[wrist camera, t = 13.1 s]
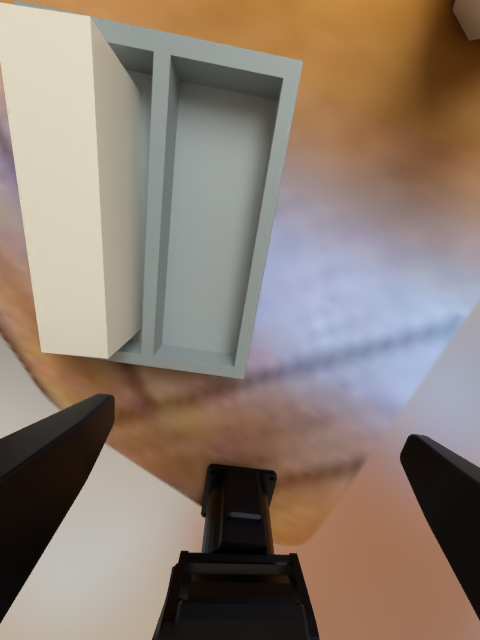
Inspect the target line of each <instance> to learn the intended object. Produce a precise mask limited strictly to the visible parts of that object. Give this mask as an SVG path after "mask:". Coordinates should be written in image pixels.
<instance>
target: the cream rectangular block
mask: <svg viewBox="0 0 480 640" xmlns="http://www.w3.org/2000/svg"><path fill="white" fill-rule="evenodd" d="M0 62H1V69H2V77H3V84H4V91H5V98H6V105H7V112H8V119H9V126H10V133H11V140H12V147H13V154H14V161H15V168H16V176H17V183H18V190H19V197H20V204H21V211H22V218H23V225H24V232H25V239H26V246H27V253H28V260H29V268H30V275H31V282H32V289H33V296H34V303H35V310H36V317H37V324H38V331H39V338H40V345H41V352H44V353H54V354H64V355H74V356H85V357H95V358H105V359H109V358H110V357H111V356H112V355H113V354H114V353H115V352H116V351H117V350H119V349H120V348H121V347H122V346H123V345H124V344H125V343H126V342H127V341H128V340H130V339H131V338H132V337H133V336H134V335H135V334H136V333H137V332H138V331H139V330H141V329H142V168H141V93H140V91H139V90H138V88H137V87H136V85H135V83H134V82H133V80H132V79H131V77H130V76H129V74H128V73H127V71H126V70H125V68H124V67H123V65H122V64H121V62H120V61H119V59H118V58H117V56H116V55H115V53H114V52H113V50H112V49H111V47H110V46H109V44H108V43H107V41H106V39H105V38H104V36H103V35H102V33H101V32H100V30H99V29H98V27H97V26H96V24H95V23H94V21H93V20H92V18H91V17H90V16H84V15H78V14H71V13H65V12H58V11H52V10H45V9H39V8H32V7H26V6H19V5H13V4H6V3H0Z"/></svg>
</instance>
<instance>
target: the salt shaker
mask: <svg viewBox="0 0 480 640" xmlns="http://www.w3.org/2000/svg"><path fill="white" fill-rule="evenodd" d="M452 11H453V13H454V14H455V16H456V18H457V20H458V22H459V23H460V25H461V27H462V29H463V31H464V33H465V34H466V36H467V38H468V40H469V41H470V40H477V39H480V0H455V3H454V6H453V10H452Z"/></svg>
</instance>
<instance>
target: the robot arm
mask: <svg viewBox="0 0 480 640" xmlns="http://www.w3.org/2000/svg"><path fill="white" fill-rule="evenodd" d="M114 418H115V399H114V396H113V395H109V394H101V393H99V394H96V395H94V396H92V397H90V398H87V399H85V400H83V401H81V402H79V403H77V404H75V405H72V406H70V407H68V408H66V409H64V410H62V411H59V412H57V413H55V414H53V415H51V416H49V417H47V418H45V419H42V420H40V421H38V422H36V423H34V424H32V425H29V426H27V427H25V428H23V429H21V430H19V431H16V432H14V433H12V434H10V435H8V436H6V437H3V438H2V439H0V623H1V622H2V620H3V618H4V616H5V615H6V613H7V612H8V610H9V608H10V607H11V605H12V603H13V602H14V600H15V598H16V596H17V595H18V593H19V592H20V590H21V588H22V587H23V585H24V583H25V582H26V580H27V579H28V577H29V575H30V574H31V572H32V570H33V569H34V567H35V565H36V564H37V562H38V560H39V559H40V557H41V555H42V554H43V552H44V550H45V549H46V547H47V545H48V544H49V542H50V540H51V539H52V537H53V535H54V534H55V532H56V531H57V529H58V527H59V525H60V524H61V522H62V521H63V519H64V517H65V516H66V514H67V512H68V511H69V509H70V507H71V506H72V504H73V502H74V500H75V499H76V497H77V496H78V494H79V493H80V491H81V489H82V487H83V486H84V484H85V482H86V480H87V478H88V476H89V474H90V472H91V470H92V468H93V466H94V464H95V462H96V460H97V458H98V456H99V454H100V452H101V449H102V448H103V445H104V443H105V441H106V439H107V437H108V435H109V433H110V431H111V429H112V427H113V424H114ZM400 461H401V464H402V466H403V468H404V471H405V473H406V475H407V477H408V480H409V482H410V484H411V487H412V489H413V491H414V494H415V496H416V498H417V500H418V503H419V505H420V507H421V509H422V511H423V513H424V516H425V518H426V520H427V522H428V524H429V526H430V528H431V530H432V532H433V533H434V535H435V537H436V539H437V541H438V543H439V545H440V547H441V549H442V550H443V552H444V554H445V556H446V558H447V560H448V562H449V563H450V565H451V567H452V569H453V571H454V573H455V575H456V577H457V579H458V581H459V582H460V584H461V586H462V588H463V590H464V592H465V594H466V595H467V598H468V599H469V601H470V603H471V605H472V607H473V609H474V610H475V613H476V614H477V616H478V618H479V620H480V468H479V467H478V466H476V465H474V464H472V463H471V462H469V461H467V460H466V459H464V458H462V457H461V456H459V455H457V454H456V453H454V452H452V451H451V450H449V449H447V448H446V447H444V446H442V445H441V444H439V443H437V442H435V441H434V440H432V439H430V438H429V437H427V436H424V435H417V434H411V435H410V436H408V438H407V440H406V443H405V445H404V447H403V449H402V452H401V454H400ZM276 480H277V476H276V473H275V472H274V471H269V470H260V469H252V468H243V467H235V466H226V465H218V464H211V465H209V467H208V472H207V478H206V485H205V491H204V498H203V504H202V511H201V515H202V517H205V518H206V519H205V527H204V536H203V544H202V553H188V551H181V553H180V557H179V562H178V564H176V565H175V566H174V567H173V568H172V573H171V577H170V582H169V588H168V592H167V596H166V600H165V603H164V606H163V609H162V612H161V615H160V617H159V620H158V624H157V627H156V629H155V632H154V635H153V638H152V640H320V639H319V634H318V629H317V625H316V621H315V616H314V613H313V609H312V605H311V602H310V598H309V595H308V591H307V588H306V584H305V581H304V577H303V574H302V570H301V566H300V563H299V559H298V556H297V554H296V553H290V554H289V555H276V554H274V549H273V548H274V547H273V539H272V530H271V521H270V513H269V506H270V503H271V499H272V495H273V492H274V488H275V484H276Z"/></svg>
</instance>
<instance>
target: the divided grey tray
mask: <svg viewBox="0 0 480 640" xmlns="http://www.w3.org/2000/svg"><path fill="white" fill-rule="evenodd" d="M14 4H15V5H19V6H26V7H32V8H39V9H45V10H52V11H58V12H65V13H71V14H78V13H73V12H68V11H63V10H59V9H54V8H49V7H44V6H40V5H35V4H30V3H25V2H21V1H16V0H14ZM78 15H82V14H78ZM84 16H87V15H84ZM90 17H91V18H92V20H93V21H94V23H95V24H96V26H97V27H98V29H99V30H100V32H101V33H102V35H103V36H104V38H105V39H106V41H107V43H108V44H109V46H110V47H111V49H112V50H113V52H114V53H115V55H116V56H117V58H118V59H119V61H120V62H121V64H122V65H123V67H124V68H125V70H126V71H127V73H128V74H129V76H130V77H131V79H132V80H133V82H134V83H135V85H136V87H137V88H138V90H139V91H140V93H141V168H142V329H141V330H139V331H138V332H137V333H136V334H135V335H134V336H133V337H132V338H131V339H130V340H128V341H127V342H126V343H125V344H124V345H123V346H122V347H121V348H120V349H119V350H117V351H116V352H115V353H114V354H113V355H112V356H111V357H110V358H109V359H105V358H95V357H85V356H78V357H85V358H92V359H100V360H107V361H114V362H121V363H129V364H136V365H143V366H151V367H158V368H165V369H173V370H180V371H187V372H195V373H202V374H209V375H217V376H224V377H231V378H239V379H244V376H245V371H246V365H247V360H248V355H249V349H250V344H251V338H252V333H253V328H254V322H255V317H256V312H257V306H258V301H259V296H260V290H261V285H262V279H263V274H264V269H265V263H266V258H267V253H268V247H269V242H270V236H271V231H272V226H273V220H274V215H275V210H276V204H277V199H278V194H279V188H280V183H281V177H282V172H283V167H284V161H285V156H286V151H287V145H288V140H289V134H290V129H291V124H292V118H293V113H294V108H295V102H296V97H297V91H298V86H299V81H300V75H301V70H302V65H303V61H301V60H297V59H292V58H287V57H282V56H278V55H273V54H268V53H263V52H259V51H254V50H249V49H244V48H240V47H235V46H230V45H225V44H220V43H216V42H211V41H206V40H201V39H197V38H192V37H187V36H182V35H178V34H173V33H168V32H163V31H159V30H154V29H149V28H144V27H140V26H135V25H130V24H125V23H121V22H116V21H111V20H106V19H101V18H97V17H92V16H90ZM63 355H64V354H63ZM70 356H74V355H70Z"/></svg>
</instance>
